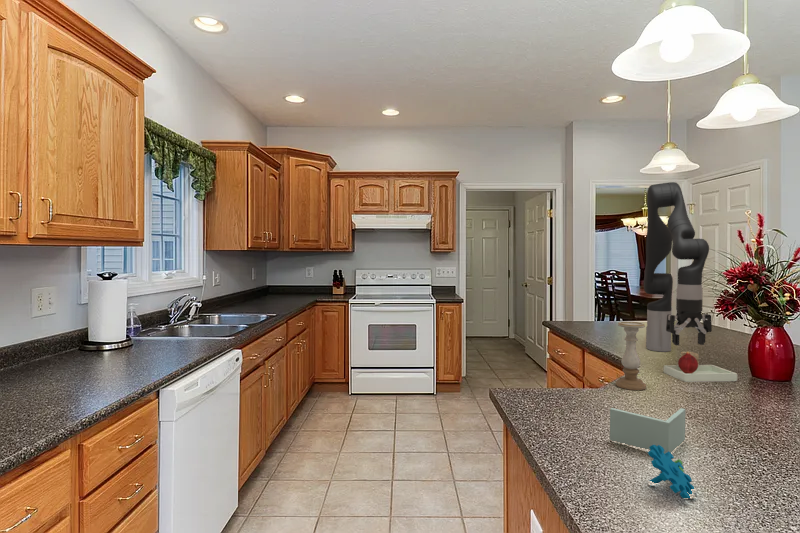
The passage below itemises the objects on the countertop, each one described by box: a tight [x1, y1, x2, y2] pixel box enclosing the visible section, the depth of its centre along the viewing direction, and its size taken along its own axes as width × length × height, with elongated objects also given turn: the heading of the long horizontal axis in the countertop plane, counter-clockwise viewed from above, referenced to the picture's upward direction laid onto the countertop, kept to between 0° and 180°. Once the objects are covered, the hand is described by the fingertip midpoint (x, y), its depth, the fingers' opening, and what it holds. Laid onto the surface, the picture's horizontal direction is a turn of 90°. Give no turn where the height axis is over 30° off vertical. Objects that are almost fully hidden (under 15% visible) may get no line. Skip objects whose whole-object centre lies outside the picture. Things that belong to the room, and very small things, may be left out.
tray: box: [663, 364, 738, 383], centre depth 156 cm, size 12×18×2 cm, turn 91°
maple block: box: [680, 351, 700, 365], centre depth 170 cm, size 4×4×5 cm
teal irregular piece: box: [647, 445, 695, 499], centre depth 84 cm, size 11×6×10 cm
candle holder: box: [615, 321, 647, 391], centre depth 145 cm, size 9×9×20 cm
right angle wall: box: [609, 407, 687, 454], centre depth 104 cm, size 12×12×8 cm
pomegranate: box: [677, 351, 699, 374], centre depth 156 cm, size 6×6×8 cm
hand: (688, 344), depth 156 cm, fingers open, 8 cm apart
